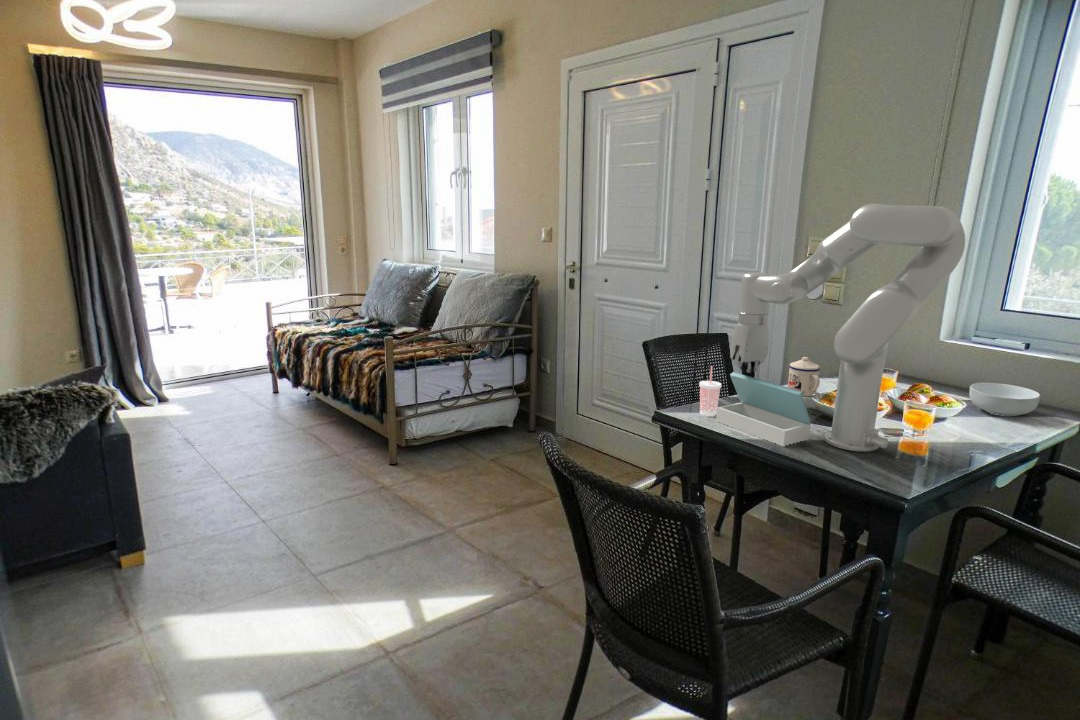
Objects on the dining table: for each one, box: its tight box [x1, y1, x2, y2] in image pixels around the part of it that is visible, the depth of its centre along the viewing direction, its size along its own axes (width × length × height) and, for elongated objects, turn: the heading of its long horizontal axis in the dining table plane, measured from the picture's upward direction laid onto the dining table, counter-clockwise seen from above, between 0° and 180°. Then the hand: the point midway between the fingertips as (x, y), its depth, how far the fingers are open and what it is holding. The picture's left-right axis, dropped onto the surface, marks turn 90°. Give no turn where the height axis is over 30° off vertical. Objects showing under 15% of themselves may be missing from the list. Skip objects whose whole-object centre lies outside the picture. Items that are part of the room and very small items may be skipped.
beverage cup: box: [698, 365, 722, 417], centre depth 181 cm, size 6×6×14 cm
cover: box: [729, 371, 812, 425], centre depth 169 cm, size 22×10×1 cm
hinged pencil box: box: [715, 402, 812, 447], centre depth 170 cm, size 22×10×4 cm, turn 32°
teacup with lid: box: [787, 356, 821, 397], centre depth 202 cm, size 12×9×12 cm
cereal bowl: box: [968, 382, 1041, 417], centre depth 187 cm, size 17×17×7 cm
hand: (747, 385), depth 176 cm, fingers closed
